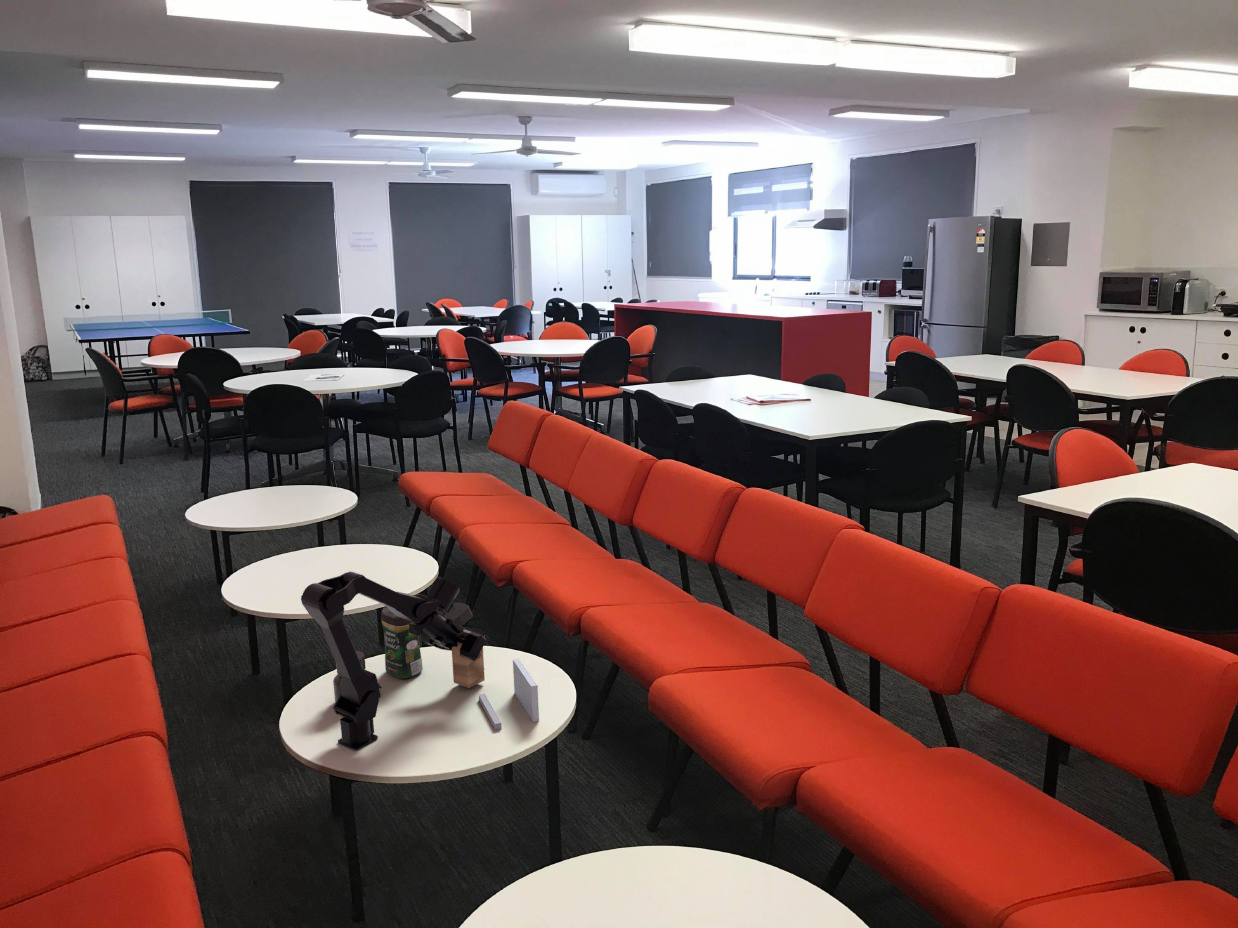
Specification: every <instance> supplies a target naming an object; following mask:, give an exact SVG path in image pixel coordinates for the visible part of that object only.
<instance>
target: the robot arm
mask: <svg viewBox="0 0 1238 928" xmlns="http://www.w3.org/2000/svg"><path fill="white" fill-rule="evenodd" d="M460 590H461V589H460V587H459V586H458V585H456V584H453V583H451V582H450V581H448V580H445V579H444V577H440V576H437V577H436V578H435V580H434V582H433V584H432V586H431V588H430V589H429V591H428V593H427V595H424V594H420V593H417V594H409V593H406V592H401V591H395V590H393V589H391V588H389V587H386V586H384V585H383V584H380V583H378V582H377V581H373V580H372V579H369V578H367V577H365V575H363V574H362V573H361V574H360V573H359V572H358V573H357V572H354V571H347V572H344V573H342V574H340V575H338V576H334V577H331V578H327V579H323V580H321V581H319V582H314V583H311V584H309V585H308V586H306V587H305V589H304V590H303V592H302V595H301V596H300V601H301V604H302V606H303V608H304V609H305V610H306V612H307V614H308V615H310V617H311V618H312V619H313V620H314V621H315V622H316V623H317V624H318V625H319V626H320V628H321V631H322V634H323V635H324V638H325V640H326V643H327V644H328V647H329V649H330V652H331V654H332V656H333V660H334V661H335V665H336V664H337V666H338V669H339V671H340V673H341V676H342V678H341V683H340V689H341V695H340V696H339V698H338V700H337V701H336V703H335V702H334V705H333V707H332V710H333V712H334V714H335V715H337V716H339V717H341V718H340V719H339V722H340V731H341V732H340V734H341V738H339V739H337V743H338V744H340V745H343V746H345V747H348V748H349V749H352V750H354V751H357V750H360V749H361V748H363V747H365V746H367V745H368V744H370V743H373V742H374V741H376V740H378V739H379V737H378V735H376V734H375V727H374V726H375V725H374V724H375V723H374V718H376V716H377V712H378V711H377V710H378V706H379V701H380V699H381V695H382V693H381V690H382V686H381V685H380V684H379V680H378V676H377V675H376V673H375V672H371V671H369V670H367V669H366V668H365V669H363V668H362V666H361V663H360V661H359V658H358V656H357V654H356V651H357V650H356V649H355V647H354V644H353V641H352V639H351V636H350V634H349V631H348V630H347V627H346V625H345V622H344V619H343V617H344V613H345V606H346V605H347V604H349V603H351V602H352V601H353V599H354V598H355V597H356V596H357V595H358V594H359V595H361V596H363V597H366V598H368V599H370V600H372V601H374V602H377V603H379V604H381V605H384V607H385V606H386V607H388V609H389V610H390V611H391V612H393V613H394V614H395V615H397V616H398V617H401V618H403V619H406V620H409V621H412V623H409V629H408V632H409V633H411V634H413V635H416V636H420V640H421V641H422V642H423V643H424V644H425V645H427V646H428V645H429V646H433V647H434V648H437V649H438V650H439V649H440V650H442V651H443V650H444V651H449V652H450V651H451V652H452V647H455V648H456V647H457V646H458V644H461V645H462V646H461V648H460V656H461V657H464V658H467V659H470V660H472V661H474V660H476V659H477V658H480V656H481V653H480V652H481V650H482V648H483V649H484V646H485V644H486V642H487V638H486V636H484V635H482V634H481V633H477V632H474V631H471V632H470V633H468V634H467V635H462V634H461V633H462V632H463V630H464V629H465V627H463V626H464V625H465V624H467V622H468V621H469V620H471V619H472V618H473V616H474V615H473V612H472V609H471V608H470V606H469V605H468V604H466V603H463V602H459V601H458V602H454V600H455V599H456V597H457V596H458V594H459V592H460ZM438 611H439V612H441V613H442V614H443V615H442V614H440V613H439V612H438ZM460 638H461V639H460ZM463 639H464V640H463ZM457 643H458V644H457Z"/></svg>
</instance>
